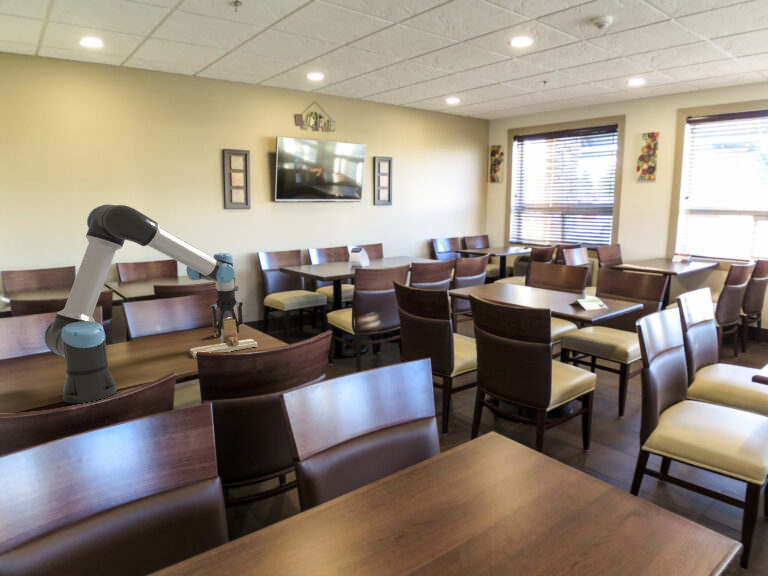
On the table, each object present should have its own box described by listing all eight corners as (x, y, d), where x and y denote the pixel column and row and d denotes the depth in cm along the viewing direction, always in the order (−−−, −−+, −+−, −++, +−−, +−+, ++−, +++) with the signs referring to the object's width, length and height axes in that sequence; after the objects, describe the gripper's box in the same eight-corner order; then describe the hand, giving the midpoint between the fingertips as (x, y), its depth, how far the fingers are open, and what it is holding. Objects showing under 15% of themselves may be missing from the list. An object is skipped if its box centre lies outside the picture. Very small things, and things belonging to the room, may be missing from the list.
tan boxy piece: (242, 349, 209) (241, 324, 207) (230, 351, 206) (229, 326, 204) (233, 341, 221) (231, 317, 219) (221, 343, 218) (219, 319, 216)
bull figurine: (239, 332, 237) (238, 315, 235) (216, 338, 225) (215, 321, 224) (233, 330, 239) (232, 314, 237) (210, 337, 228) (209, 320, 226)
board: (257, 347, 212) (257, 342, 212) (194, 358, 198) (194, 353, 198) (251, 342, 219) (251, 338, 218) (190, 353, 205) (189, 348, 204)
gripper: (243, 285, 220) (246, 336, 224) (201, 290, 211) (205, 342, 215) (248, 288, 214) (252, 340, 218) (205, 293, 204) (210, 347, 209)
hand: (229, 341), depth 217 cm, fingers closed on tan boxy piece, 5 cm apart
